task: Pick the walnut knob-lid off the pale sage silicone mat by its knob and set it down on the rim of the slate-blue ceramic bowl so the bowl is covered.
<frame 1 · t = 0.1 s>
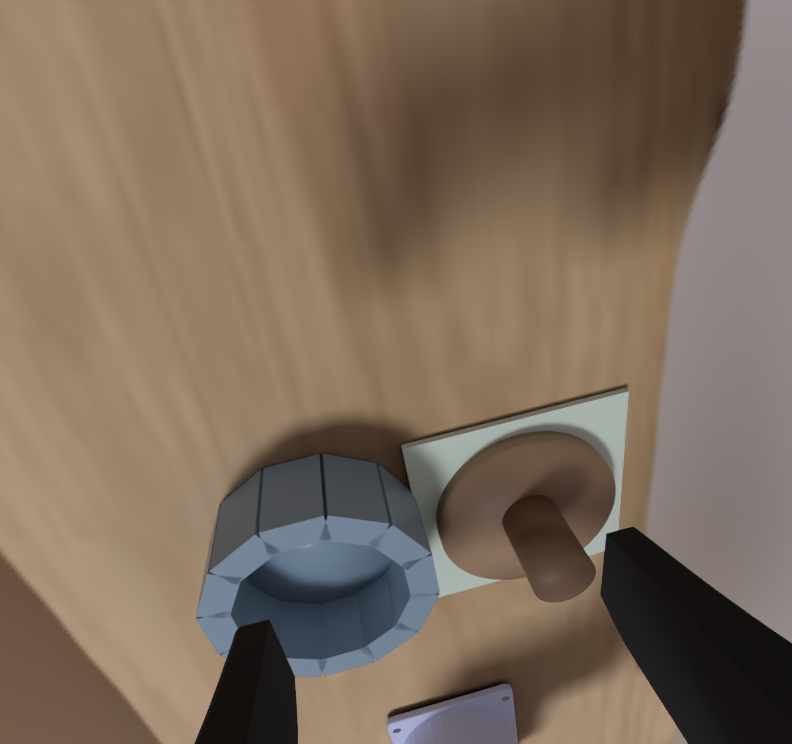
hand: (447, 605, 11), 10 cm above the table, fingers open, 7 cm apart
bowl: (319, 537, 23), on the table
lid: (522, 504, 24), resting on mat
mat: (520, 500, 24), on the table
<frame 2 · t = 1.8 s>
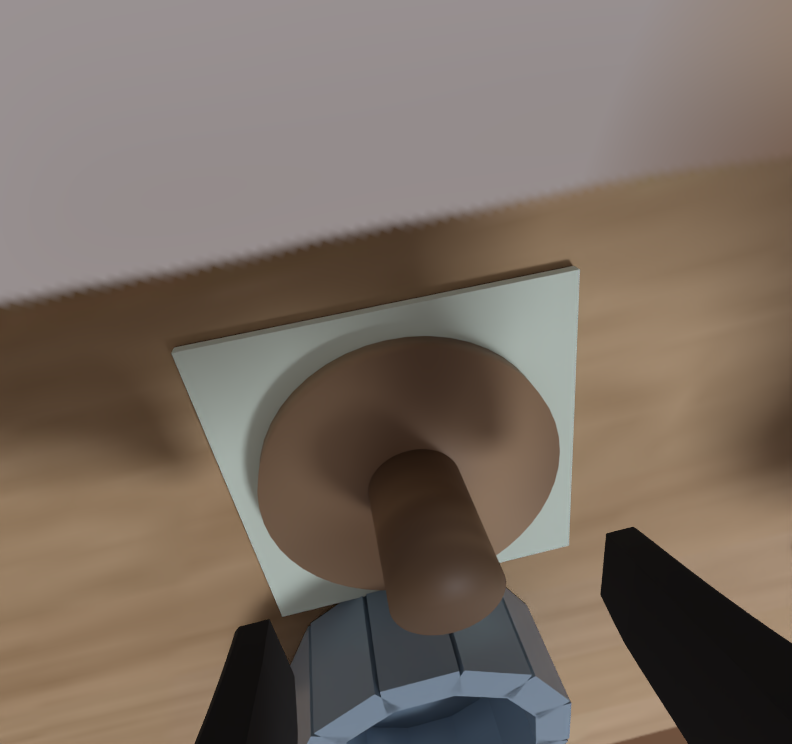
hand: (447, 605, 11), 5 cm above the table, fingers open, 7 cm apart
bowl: (415, 655, 19), on the table
lid: (409, 468, 15), resting on mat
mat: (407, 461, 15), on the table
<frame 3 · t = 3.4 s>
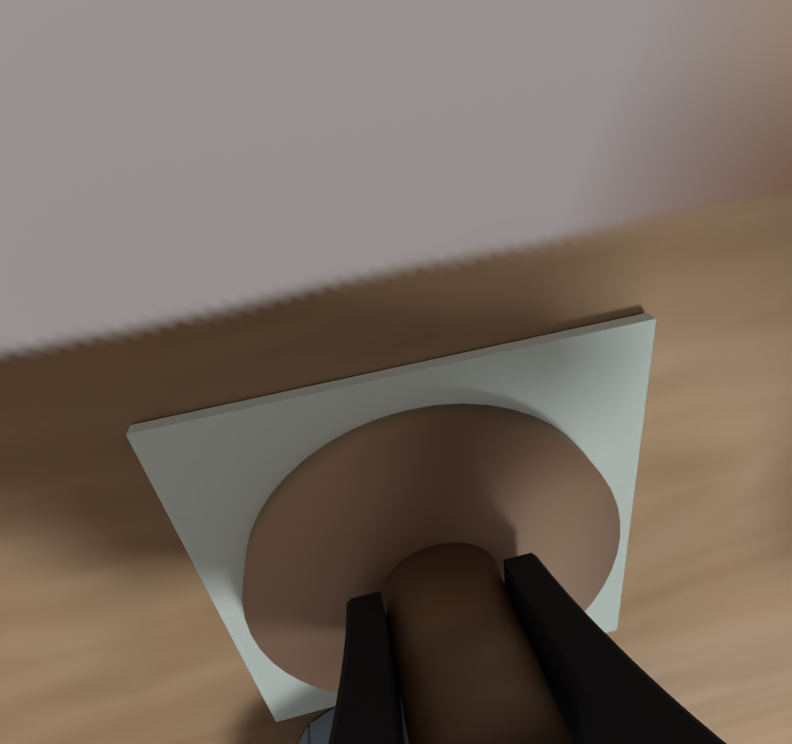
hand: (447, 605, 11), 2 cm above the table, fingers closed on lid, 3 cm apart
lid: (432, 556, 12), resting on mat, touching gripper
mat: (429, 546, 12), on the table
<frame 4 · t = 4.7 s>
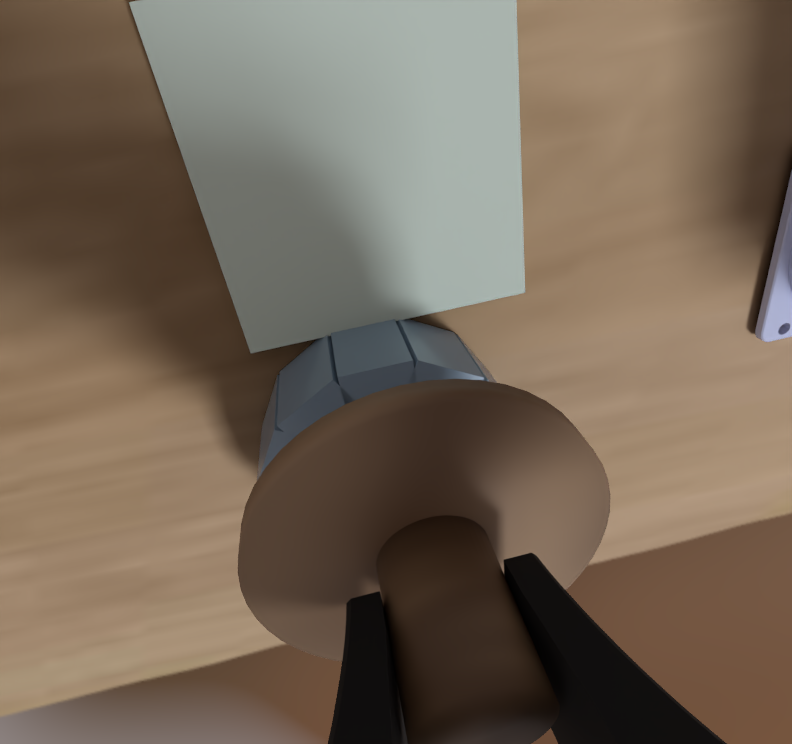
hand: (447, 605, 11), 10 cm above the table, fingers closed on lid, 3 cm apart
bowl: (383, 425, 20), on the table
lid: (425, 528, 12), point 8 cm above the table, touching gripper
mat: (363, 173, 16), on the table
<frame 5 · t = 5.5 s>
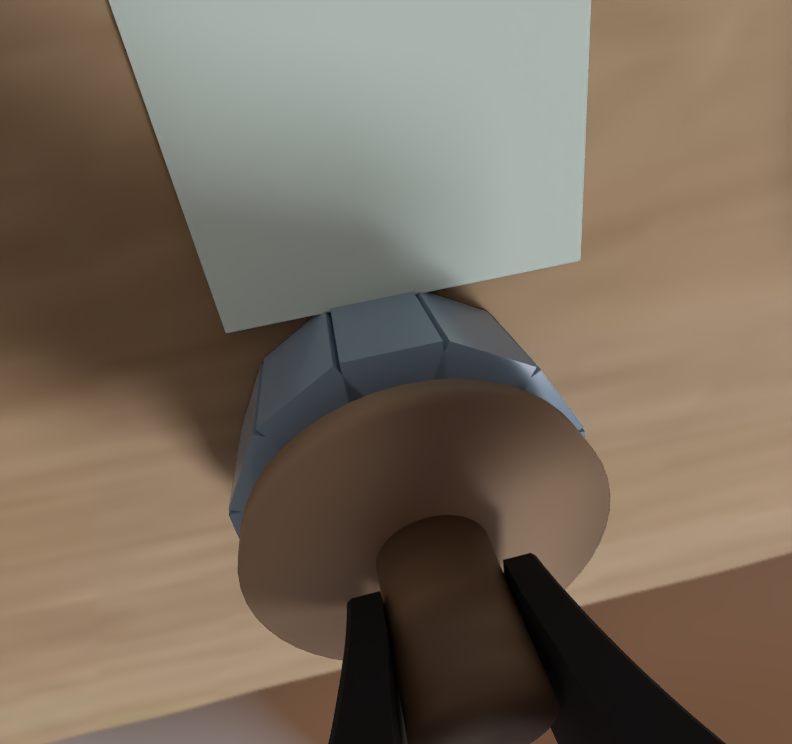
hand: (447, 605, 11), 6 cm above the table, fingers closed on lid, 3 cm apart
bowl: (394, 428, 16), on the table
lid: (425, 528, 12), point 5 cm above the table, touching gripper
mat: (376, 89, 12), on the table
when the fingers open (6 cm above the table, at t = 6.3 s): lid stays where it is, resting on bowl.
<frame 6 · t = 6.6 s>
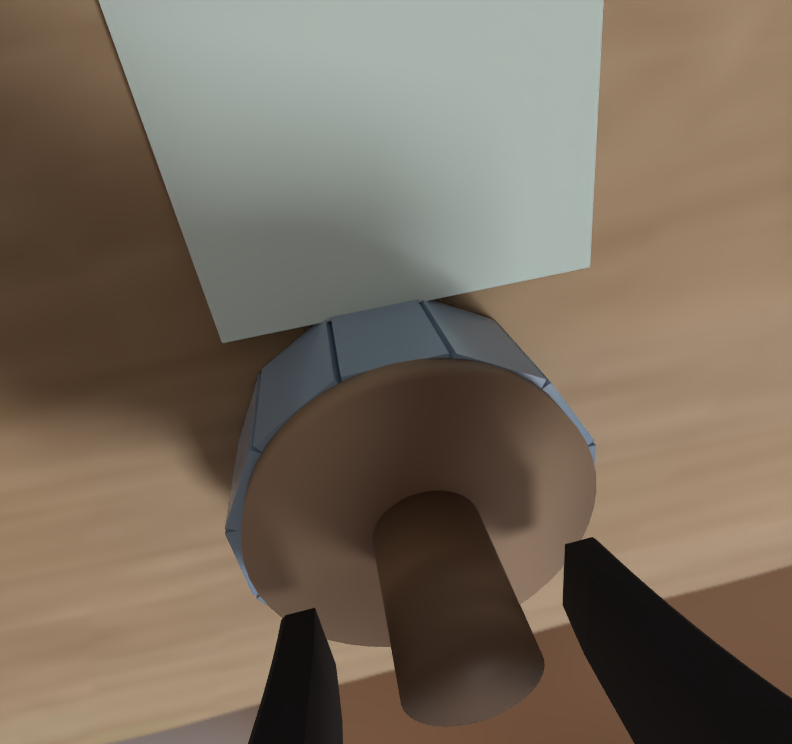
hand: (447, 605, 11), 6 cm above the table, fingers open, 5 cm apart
bowl: (397, 439, 16), on the table
lid: (420, 508, 12), point 3 cm above the table, touching bowl
mat: (379, 89, 11), on the table
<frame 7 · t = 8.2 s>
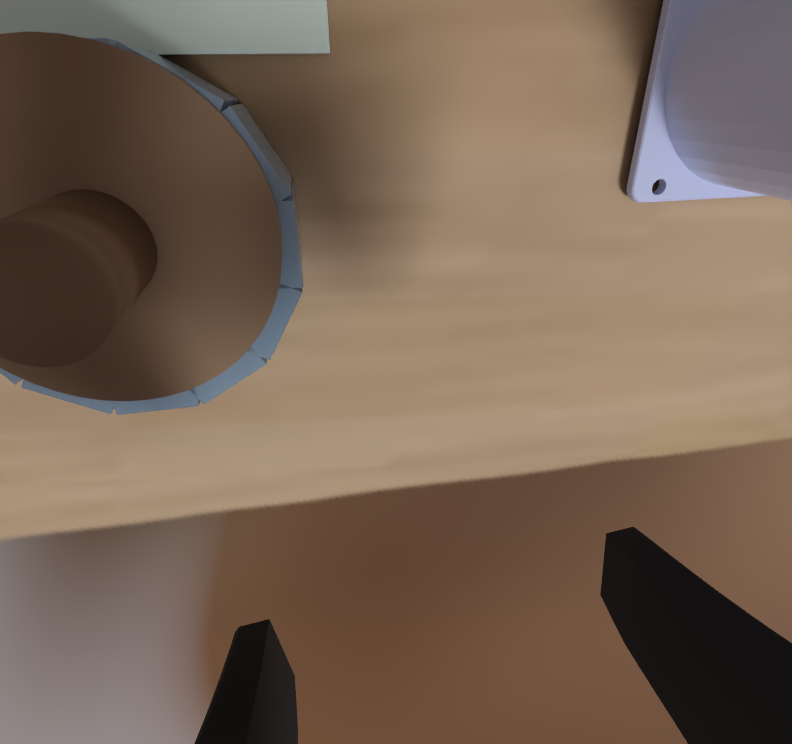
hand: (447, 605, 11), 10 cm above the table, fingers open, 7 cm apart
bowl: (147, 225, 16), on the table
lid: (108, 239, 12), point 3 cm above the table, touching bowl
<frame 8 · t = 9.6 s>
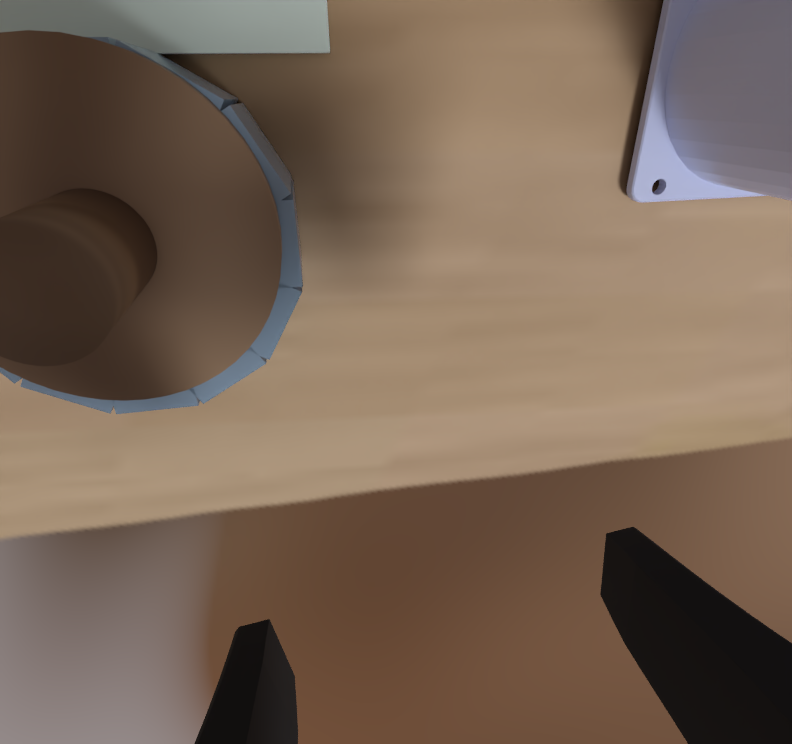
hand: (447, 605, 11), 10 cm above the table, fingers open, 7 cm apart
bowl: (147, 225, 16), on the table
lid: (107, 238, 12), point 3 cm above the table, touching bowl
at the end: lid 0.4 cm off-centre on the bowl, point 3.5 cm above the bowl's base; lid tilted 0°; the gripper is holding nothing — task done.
